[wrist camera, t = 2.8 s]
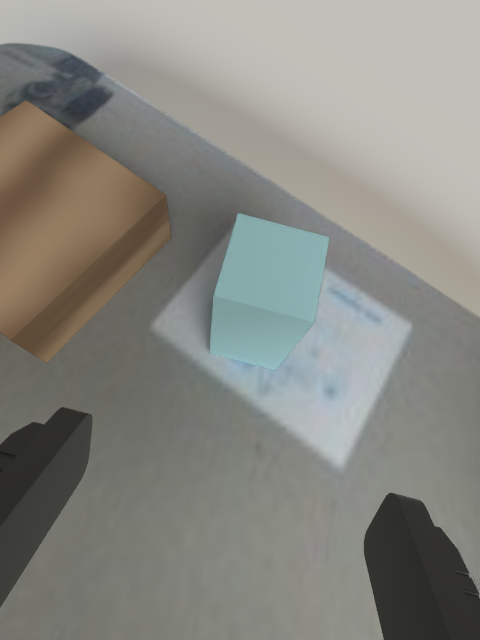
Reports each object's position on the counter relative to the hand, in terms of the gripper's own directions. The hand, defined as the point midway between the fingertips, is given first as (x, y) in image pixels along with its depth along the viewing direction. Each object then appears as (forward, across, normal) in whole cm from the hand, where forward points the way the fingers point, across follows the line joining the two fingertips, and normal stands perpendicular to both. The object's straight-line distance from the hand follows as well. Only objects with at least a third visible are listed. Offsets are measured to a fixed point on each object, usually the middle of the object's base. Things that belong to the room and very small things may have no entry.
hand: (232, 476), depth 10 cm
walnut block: (+17, +15, +1) cm, 23 cm away
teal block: (+15, 0, +3) cm, 15 cm away
